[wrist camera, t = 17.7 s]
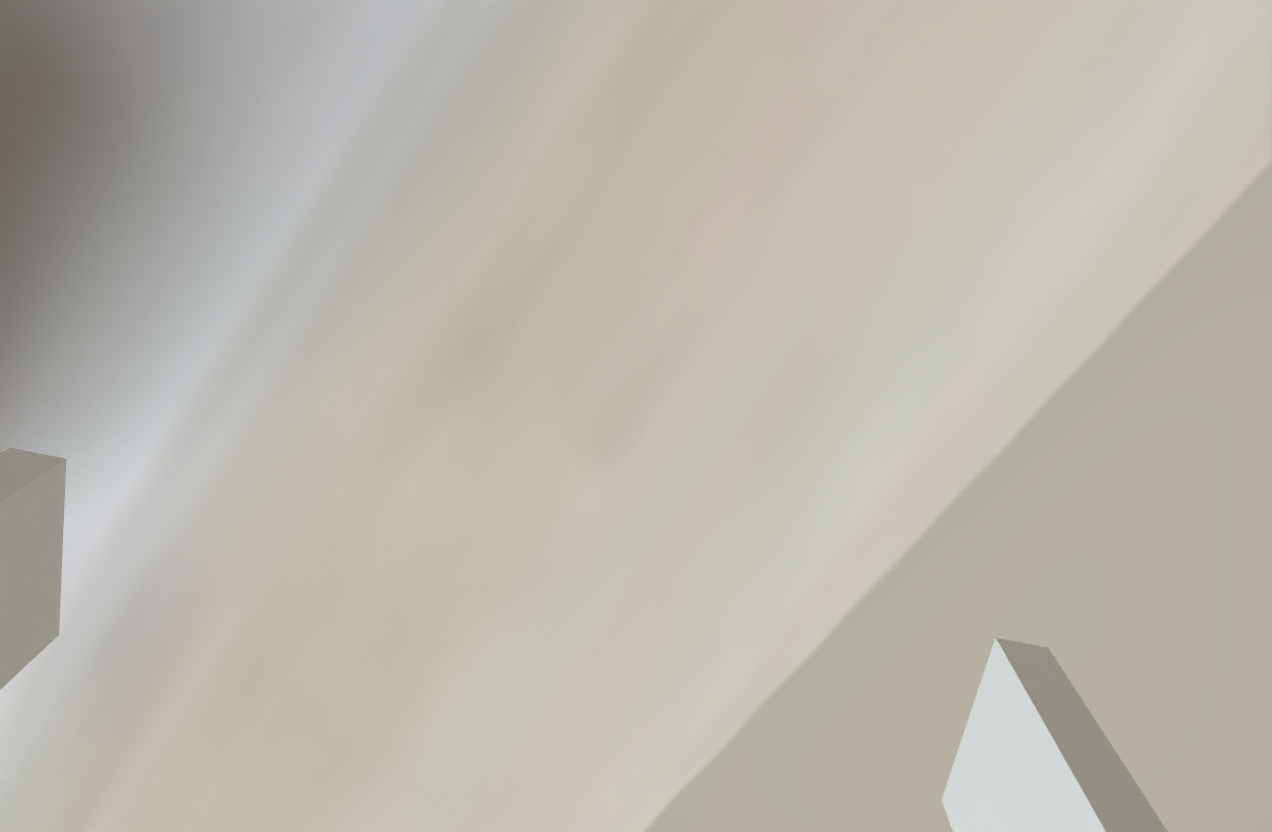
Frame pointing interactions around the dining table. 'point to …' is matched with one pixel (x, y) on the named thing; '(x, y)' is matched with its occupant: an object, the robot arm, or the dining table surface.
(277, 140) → the dining table surface
